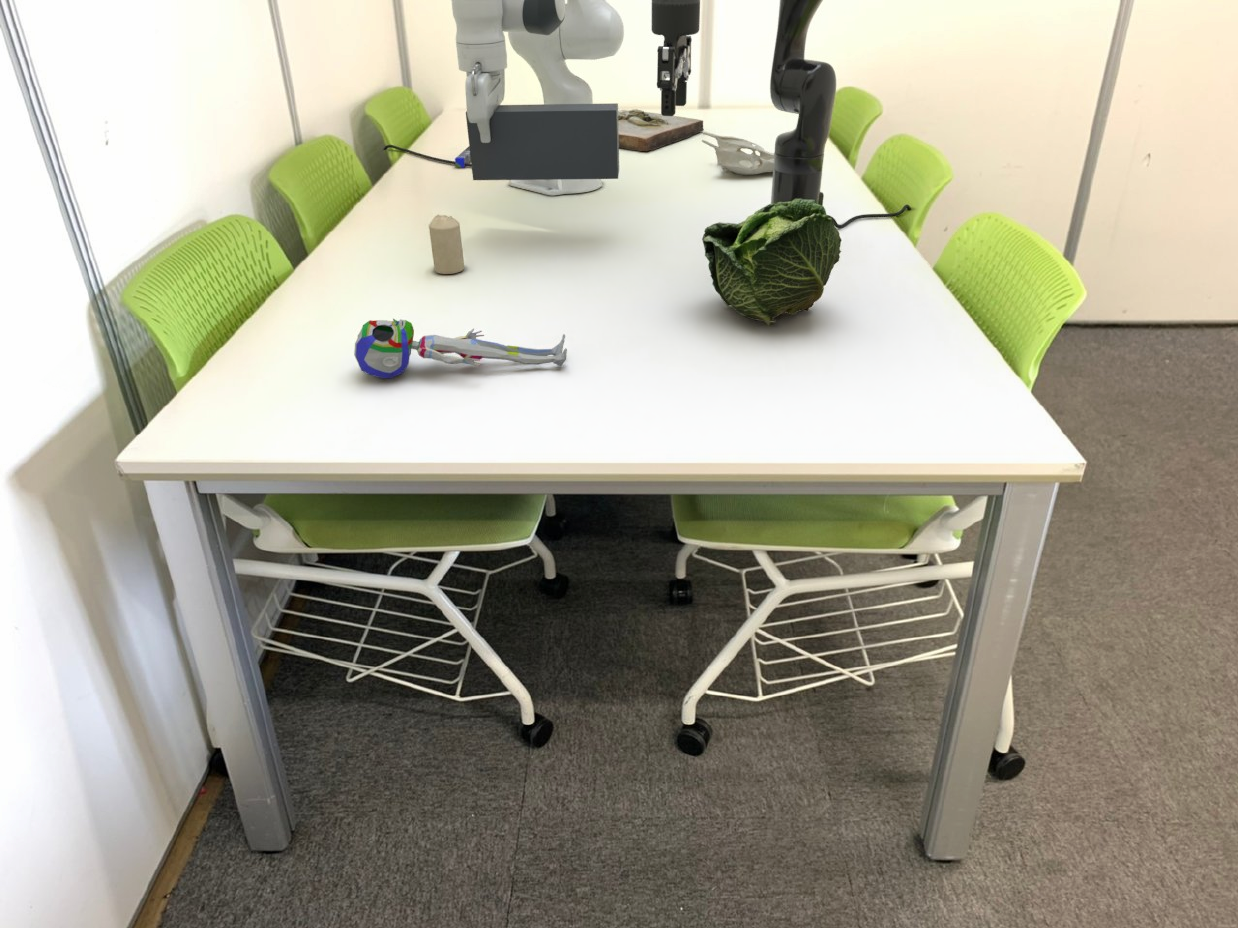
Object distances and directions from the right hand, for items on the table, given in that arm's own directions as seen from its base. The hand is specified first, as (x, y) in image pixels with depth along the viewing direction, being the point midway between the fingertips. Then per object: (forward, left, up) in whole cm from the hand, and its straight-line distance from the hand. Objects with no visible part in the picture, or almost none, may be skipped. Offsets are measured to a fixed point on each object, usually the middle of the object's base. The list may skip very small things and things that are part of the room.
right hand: (674, 110), depth 147 cm
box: (+10, -30, -16) cm, 35 cm away
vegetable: (-5, +22, -29) cm, 37 cm away
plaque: (-52, -102, -29) cm, 118 cm away
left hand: (+19, -36, -8) cm, 41 cm away
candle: (+33, -25, -29) cm, 50 cm away
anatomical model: (-56, -51, -29) cm, 81 cm away
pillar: (-2, -103, -29) cm, 107 cm away
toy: (+46, +16, -29) cm, 56 cm away
